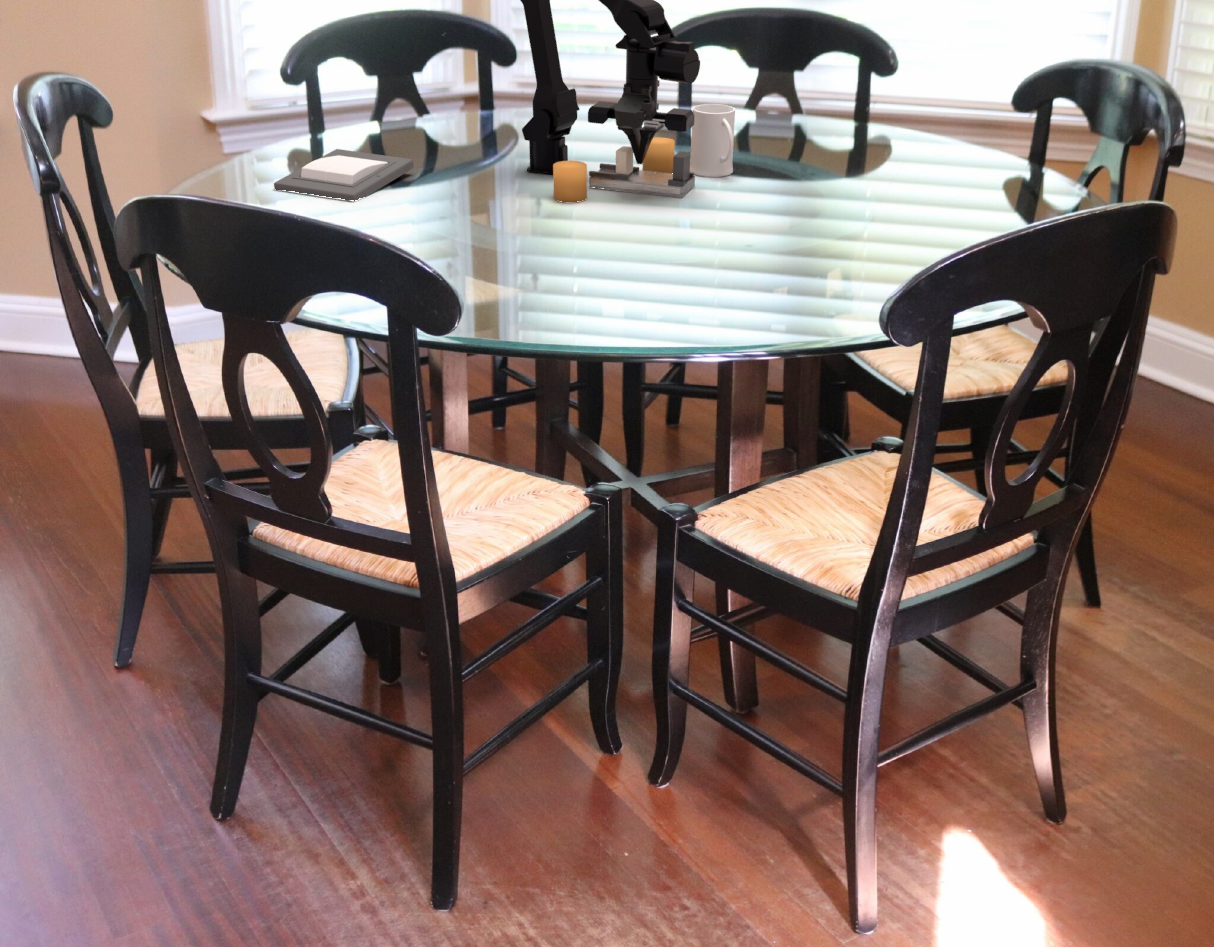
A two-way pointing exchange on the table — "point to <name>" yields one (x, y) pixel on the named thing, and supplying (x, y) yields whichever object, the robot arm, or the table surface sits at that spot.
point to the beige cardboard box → (624, 160)
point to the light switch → (345, 174)
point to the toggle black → (681, 166)
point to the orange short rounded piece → (659, 155)
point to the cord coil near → (570, 181)
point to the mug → (712, 140)
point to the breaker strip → (640, 181)
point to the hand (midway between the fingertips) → (639, 163)
